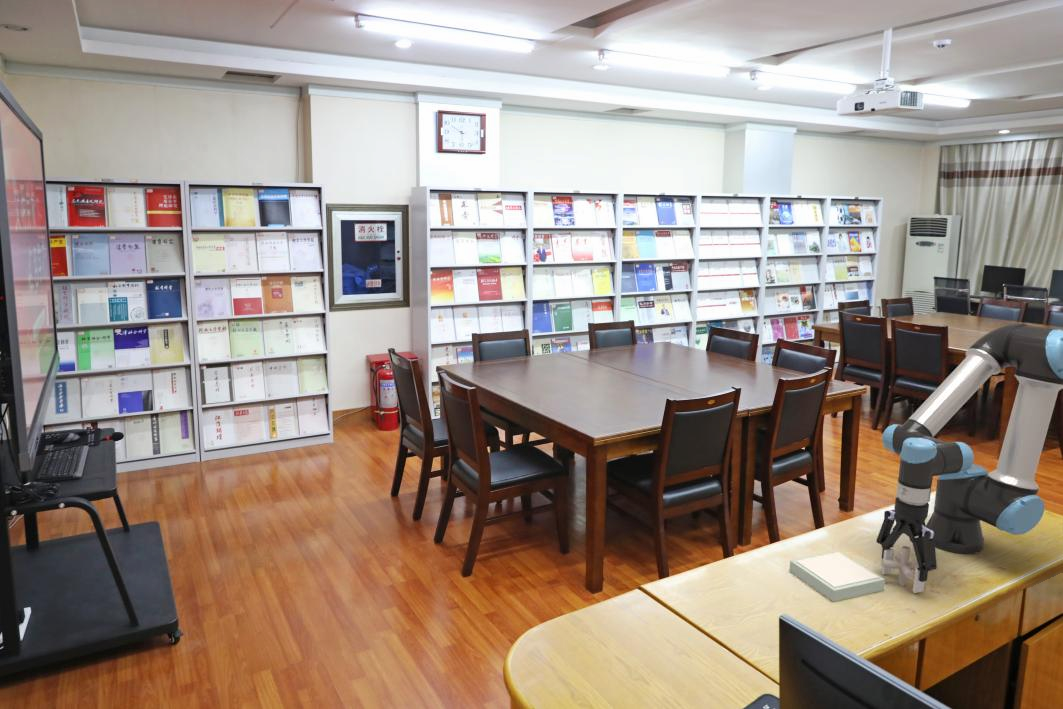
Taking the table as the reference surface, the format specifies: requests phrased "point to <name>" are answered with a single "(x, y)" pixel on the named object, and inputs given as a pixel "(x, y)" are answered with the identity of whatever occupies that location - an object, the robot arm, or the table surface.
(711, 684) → the table surface
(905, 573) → the pipe connector
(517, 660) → the table surface
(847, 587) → the stand
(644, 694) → the table surface
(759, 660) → the table surface
